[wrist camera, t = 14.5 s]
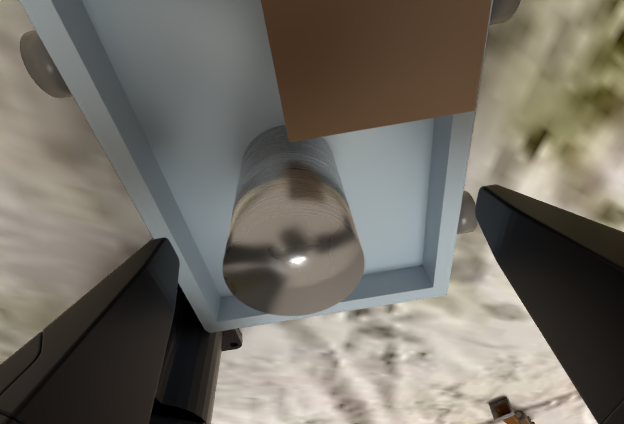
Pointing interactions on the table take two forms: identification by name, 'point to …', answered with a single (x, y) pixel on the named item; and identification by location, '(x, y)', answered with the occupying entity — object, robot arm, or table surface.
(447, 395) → the table surface
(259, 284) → the shiny metal cylinder
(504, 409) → the wooden post with brackets
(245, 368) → the table surface
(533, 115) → the table surface
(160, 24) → the cart
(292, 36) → the walnut block
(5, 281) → the table surface
